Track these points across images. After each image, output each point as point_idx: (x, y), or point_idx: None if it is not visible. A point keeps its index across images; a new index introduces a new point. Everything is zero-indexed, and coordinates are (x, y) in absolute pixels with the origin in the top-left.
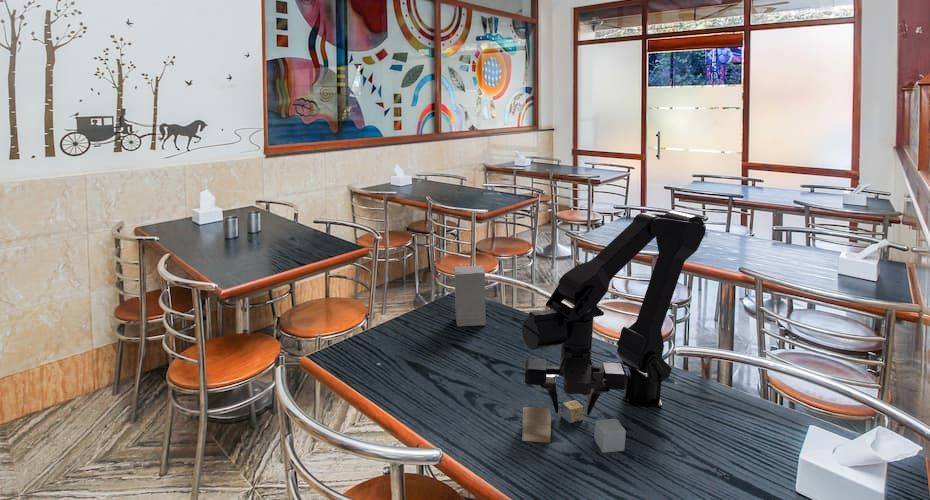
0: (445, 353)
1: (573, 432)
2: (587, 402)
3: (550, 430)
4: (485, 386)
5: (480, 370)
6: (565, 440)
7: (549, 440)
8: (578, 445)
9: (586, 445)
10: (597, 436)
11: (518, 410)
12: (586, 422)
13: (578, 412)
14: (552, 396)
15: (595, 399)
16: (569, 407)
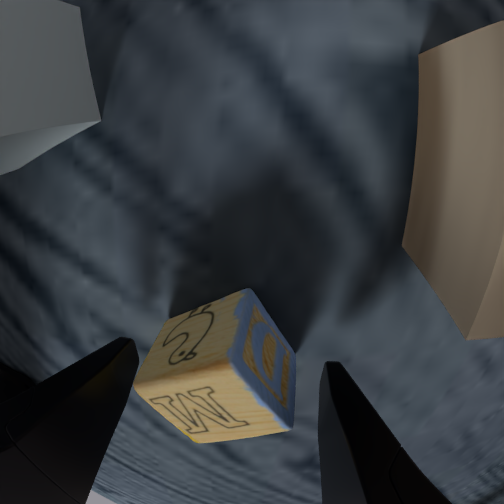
0: (492, 492)
1: (231, 181)
2: (114, 413)
3: (470, 32)
4: (499, 446)
5: (467, 484)
6: (304, 72)
7: (429, 53)
8: (208, 26)
9: (153, 39)
10: (56, 75)
11: (489, 369)
12: (147, 298)
13: (175, 351)
14: (408, 477)
15: (17, 402)
16: (238, 390)
